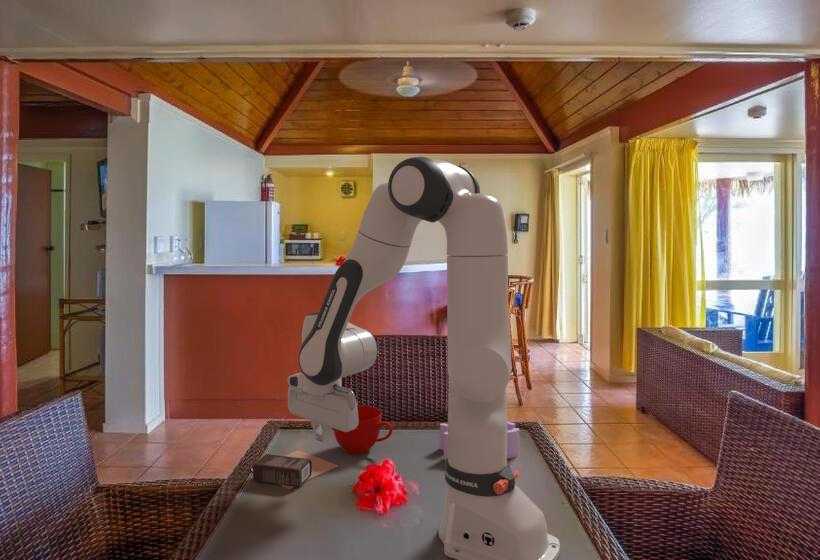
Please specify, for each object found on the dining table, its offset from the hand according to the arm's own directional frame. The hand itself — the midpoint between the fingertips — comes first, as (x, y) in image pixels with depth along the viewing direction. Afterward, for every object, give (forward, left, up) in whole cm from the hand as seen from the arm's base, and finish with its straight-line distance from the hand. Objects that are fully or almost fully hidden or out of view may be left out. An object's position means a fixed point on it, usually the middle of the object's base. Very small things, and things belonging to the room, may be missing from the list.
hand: (322, 440), depth 121 cm
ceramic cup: (+5, -19, -10) cm, 22 cm away
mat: (+11, -1, -10) cm, 15 cm away
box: (+2, +3, -8) cm, 8 cm away
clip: (-19, -38, -10) cm, 43 cm away
